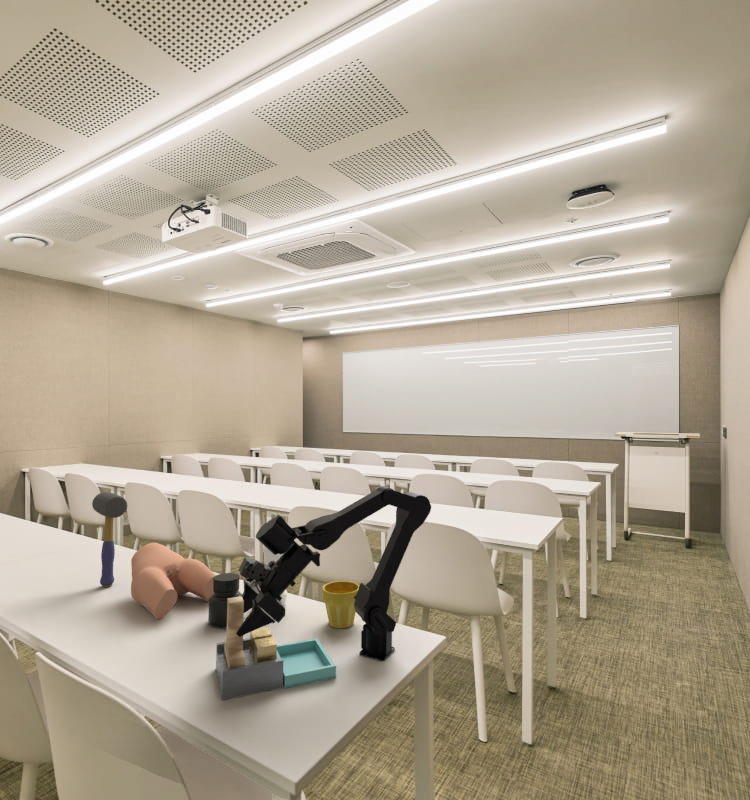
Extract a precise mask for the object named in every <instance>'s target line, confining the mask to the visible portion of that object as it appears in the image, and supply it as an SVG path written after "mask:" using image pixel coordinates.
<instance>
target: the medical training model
mask: <svg viewBox="0 0 750 800" xmlns="http://www.w3.org/2000/svg"><path fill="white" fill-rule="evenodd" d="M130 562H131V564H130V565H131V583H130V595H131V597H132V599H133V601H134V602H135V603H136V604H137V605H140V606H143V607H144V608H145V609H146V610H147V611H148V612H149V613H151V614H152V615H153V617H155V619H156V620H161V618H162V619H163V618H164V617H166V615H168V613H169V612H170V611H171V610H172V608H173V607H174V606H175V604H176V602H177V601H178V596H180V595H181V596H184V595H186V594H187V593H191V594H193V595H195V596H197V597H198V598H200V599H202V600H203V601H205V602H207V603H209V598H210V597H211V596H212V595H213V593H214V592H213V578H214V577H215V576H216V575H217V574H215V573H214V572H213V571H212V570H211V569H210V568H209V567H208V566H207V565H205V564H204V563H203V562H201V561H200V560H198V559H194V558H189V557H188V558H184V557H183V556H182V555H180V554H179V553H177V552H175V551H173V550H171V549H170V548H169V547H166V546H165V545H163V544H160V543H158V542H150V543H147V544H145V545H143V546H142V547H140V548H139V549H138V550H137V551H136V552H134V554H133V556H132V557H131V561H130ZM181 596H180V597H181Z"/></svg>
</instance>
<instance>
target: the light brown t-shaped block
mask: <svg viewBox="0 0 750 800" xmlns="http://www.w3.org/2000/svg"><path fill="white" fill-rule="evenodd" d="M244 614H245V613H244V600H243V598H242V596H241V597H233V598H227V627H226V639H224V642H225V647H224V651H225V656H226V660H227V664H228V668H232V667H237V666H243V665H245V655H244V652H243V639H244V635H243V636H241V637H239V636H238V635H237V634H236V632H237V631H238V629H239V628H240V626H241V625H242V623H243V622H244V618H245V617H244Z"/></svg>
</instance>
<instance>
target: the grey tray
mask: <svg viewBox="0 0 750 800" xmlns="http://www.w3.org/2000/svg"><path fill="white" fill-rule="evenodd" d="M224 647H225V641H222V642H216V650H215V651H216V654H215V670H216V676H217V681H218V685H219V686H218V687H219V690H220V691H219V692H220V697H221V701H226V700H230V699H235V698H240V697H244V696H250V695H253V694H259V693H263V692H269V691H273V690H278V689H282V688H283V689H284V685H283V659H282V658H281V659H279V657H278V655H277V658H276V659H275V660H270V661H264V662H259V663H255V661H254V657H253V655H252V652H251V650H250V637H245V638H243V652H244V655H245V665H243V666H237V667H232V668H228V664H227V660H226V656H225V651H224Z"/></svg>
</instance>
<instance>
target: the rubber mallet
mask: <svg viewBox="0 0 750 800" xmlns="http://www.w3.org/2000/svg"><path fill="white" fill-rule="evenodd" d="M91 503H92V508H93V510H94V511H95V512H96V513H98V514H99V515H101V516H104V535H103V537H104V538H103V543H102V547H101V552H100V553H101V557H100V559H101V576H100V580H99V584H100V585H101V586H102V587H103V588H108V587H111V586H113V584H114V582H115V577H114V562H115V561H114V560H115V556H116V555H115V554H116V553H115V551H116V550H115V542H114V522H115V521H114V519H115V518H119V517H121V516H123V515H124V514H125V513H126V511H127V509H128V502H127V500H126V498H124V497H123V496H121V495H119V494H116V493H113V492H106V491H104V492H99V493H98V494H97V495H96V496H94V498H93V500H92V502H91Z"/></svg>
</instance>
